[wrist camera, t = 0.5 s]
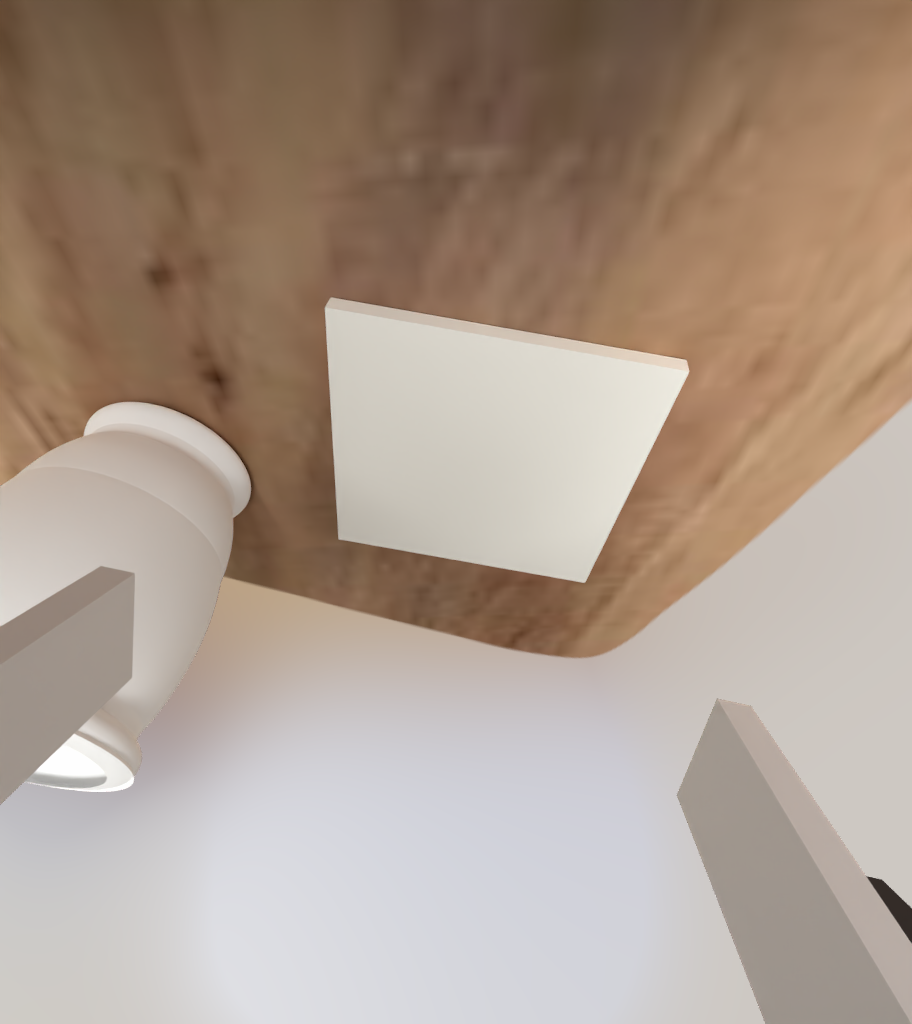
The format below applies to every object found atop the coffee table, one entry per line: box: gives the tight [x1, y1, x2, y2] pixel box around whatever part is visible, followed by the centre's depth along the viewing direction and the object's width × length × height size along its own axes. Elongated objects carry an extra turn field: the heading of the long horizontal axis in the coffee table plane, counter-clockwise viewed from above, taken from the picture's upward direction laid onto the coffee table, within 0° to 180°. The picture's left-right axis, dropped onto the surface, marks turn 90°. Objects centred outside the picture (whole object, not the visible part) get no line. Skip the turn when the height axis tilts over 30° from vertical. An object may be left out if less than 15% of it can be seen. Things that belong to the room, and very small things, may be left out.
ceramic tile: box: [325, 297, 689, 583], centre depth 27 cm, size 14×14×1 cm
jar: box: [0, 402, 251, 792], centre depth 25 cm, size 11×10×15 cm
